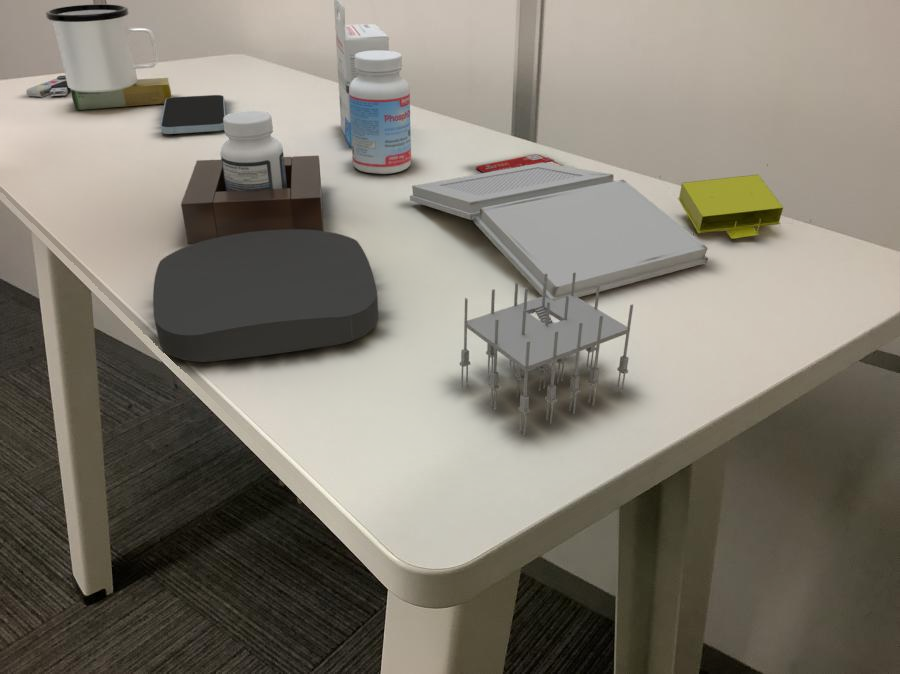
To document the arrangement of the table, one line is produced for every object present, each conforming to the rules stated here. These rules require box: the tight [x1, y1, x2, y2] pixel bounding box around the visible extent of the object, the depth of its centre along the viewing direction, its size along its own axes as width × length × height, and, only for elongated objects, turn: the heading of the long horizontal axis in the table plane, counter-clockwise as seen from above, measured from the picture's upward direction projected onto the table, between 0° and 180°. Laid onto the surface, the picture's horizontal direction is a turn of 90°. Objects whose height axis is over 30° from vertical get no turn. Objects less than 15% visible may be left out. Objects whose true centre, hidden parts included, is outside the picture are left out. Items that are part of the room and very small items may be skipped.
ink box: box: [333, 0, 390, 148], centre depth 89 cm, size 8×5×15 cm, turn 14°
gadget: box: [409, 163, 709, 301], centre depth 68 cm, size 23×15×4 cm, turn 29°
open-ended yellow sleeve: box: [659, 163, 812, 240], centre depth 70 cm, size 10×9×3 cm
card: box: [475, 154, 564, 173], centre depth 83 cm, size 8×1×5 cm
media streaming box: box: [152, 229, 379, 363], centre depth 56 cm, size 15×15×3 cm
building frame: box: [459, 272, 634, 436], centre depth 47 cm, size 6×8×6 cm
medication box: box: [70, 77, 174, 111], centre depth 104 cm, size 12×3×4 cm
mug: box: [45, 3, 158, 92], centre depth 100 cm, size 12×10×9 cm
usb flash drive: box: [25, 75, 71, 98], centre depth 111 cm, size 9×5×1 cm, turn 16°
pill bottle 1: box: [220, 110, 287, 191], centre depth 70 cm, size 5×5×9 cm
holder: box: [180, 155, 325, 244], centre depth 71 cm, size 11×11×4 cm
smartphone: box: [159, 94, 227, 135], centre depth 99 cm, size 7×1×15 cm
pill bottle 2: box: [349, 50, 412, 175], centre depth 81 cm, size 6×6×11 cm
